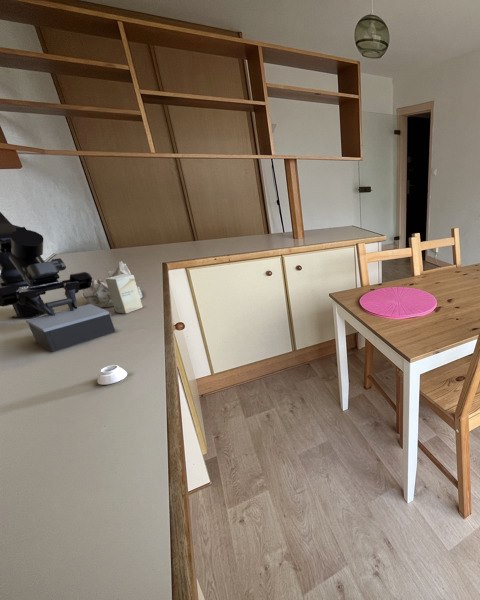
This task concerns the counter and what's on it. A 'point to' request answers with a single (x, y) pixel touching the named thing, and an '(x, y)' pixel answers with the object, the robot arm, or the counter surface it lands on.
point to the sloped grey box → (73, 333)
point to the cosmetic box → (124, 293)
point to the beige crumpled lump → (104, 289)
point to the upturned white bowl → (111, 375)
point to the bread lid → (65, 315)
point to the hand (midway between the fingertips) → (63, 311)
